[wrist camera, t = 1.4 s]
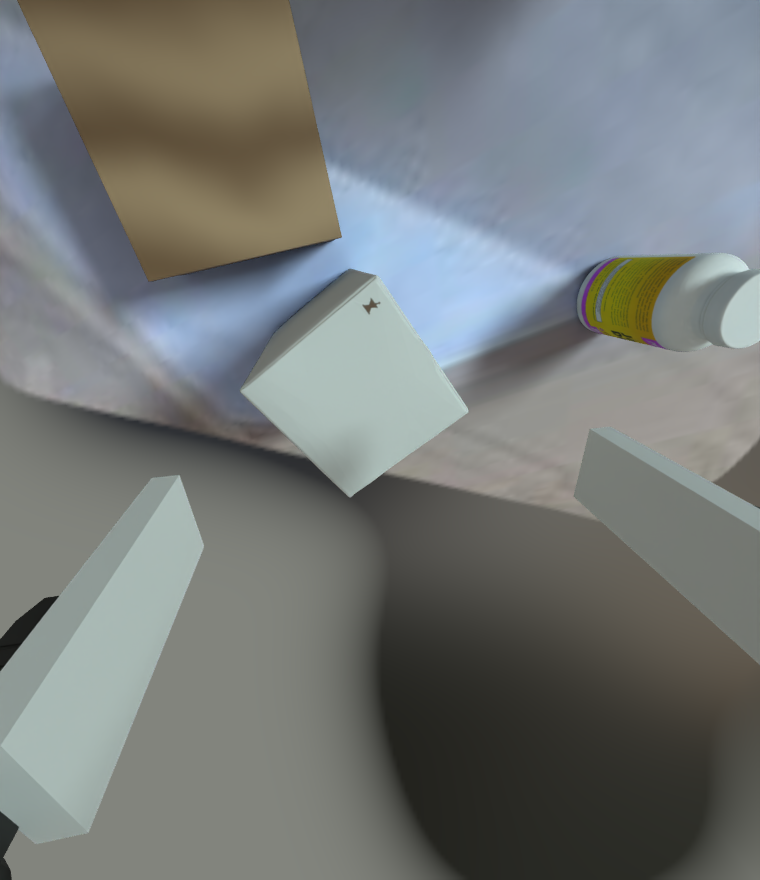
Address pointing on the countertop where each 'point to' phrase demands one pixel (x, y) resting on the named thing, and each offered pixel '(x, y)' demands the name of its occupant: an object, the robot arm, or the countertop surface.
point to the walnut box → (193, 124)
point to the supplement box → (352, 383)
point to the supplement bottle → (673, 300)
